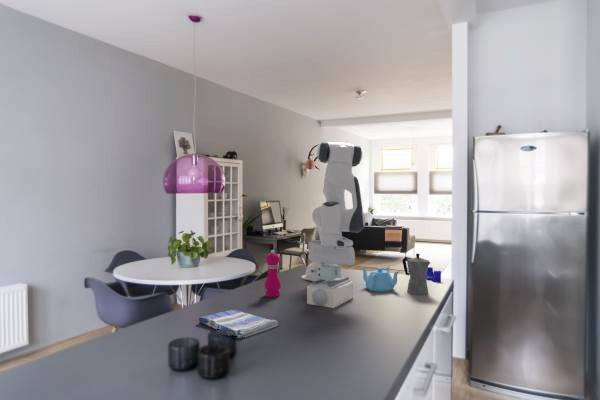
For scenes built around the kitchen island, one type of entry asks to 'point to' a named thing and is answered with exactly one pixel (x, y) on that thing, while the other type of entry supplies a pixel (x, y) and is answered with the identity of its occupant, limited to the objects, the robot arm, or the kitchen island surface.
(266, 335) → the kitchen island surface
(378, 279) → the teapot
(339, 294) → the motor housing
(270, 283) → the pepper mill
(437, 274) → the cable clip
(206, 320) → the dish towel
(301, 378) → the kitchen island surface
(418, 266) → the coffeepot
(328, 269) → the pale green block
